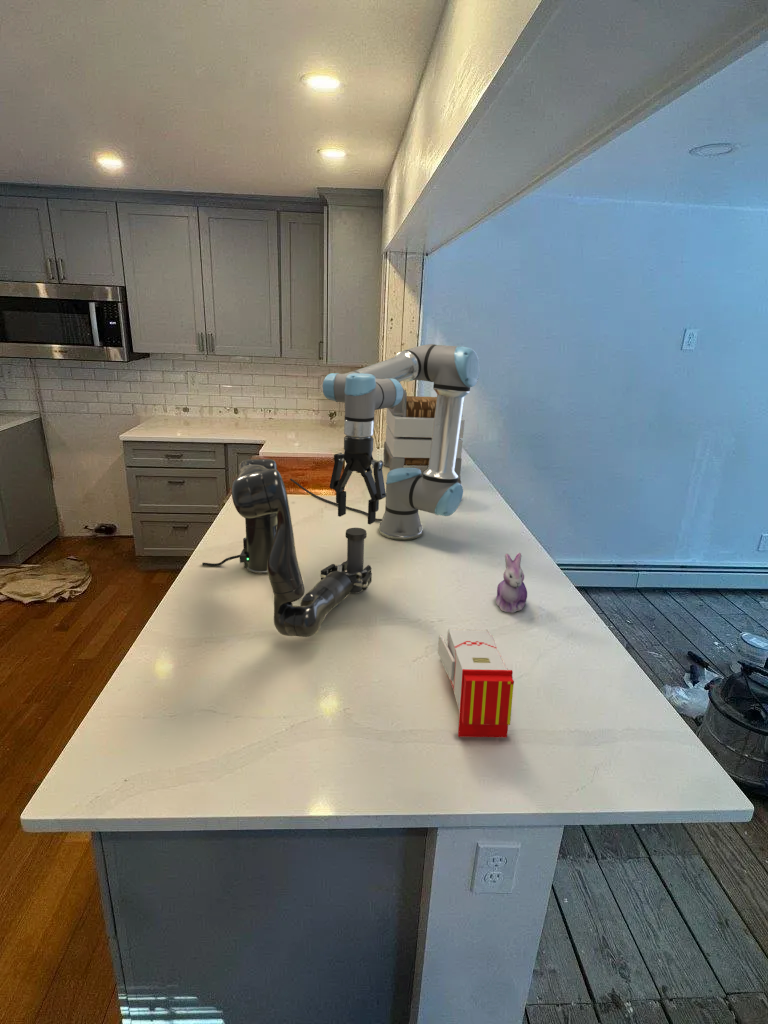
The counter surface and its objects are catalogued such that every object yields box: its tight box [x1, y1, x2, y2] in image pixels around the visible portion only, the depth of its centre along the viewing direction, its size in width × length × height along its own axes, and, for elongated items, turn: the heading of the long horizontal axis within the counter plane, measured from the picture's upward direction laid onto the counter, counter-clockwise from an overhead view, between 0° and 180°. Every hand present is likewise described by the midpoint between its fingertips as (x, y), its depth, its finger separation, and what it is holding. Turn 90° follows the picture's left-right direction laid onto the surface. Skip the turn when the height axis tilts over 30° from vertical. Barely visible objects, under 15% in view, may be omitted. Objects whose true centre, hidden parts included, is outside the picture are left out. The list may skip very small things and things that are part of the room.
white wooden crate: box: [383, 388, 465, 479], centre depth 268 cm, size 34×33×41 cm
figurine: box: [495, 552, 528, 614], centre depth 152 cm, size 9×10×15 cm
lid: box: [345, 527, 367, 541], centre depth 154 cm, size 6×6×2 cm
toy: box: [437, 628, 515, 738], centre depth 117 cm, size 12×13×30 cm
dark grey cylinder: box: [346, 539, 365, 594], centre depth 156 cm, size 5×5×17 cm
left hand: (358, 566), depth 159 cm, fingers open, 6 cm apart
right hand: (356, 518), depth 152 cm, fingers open, 9 cm apart
